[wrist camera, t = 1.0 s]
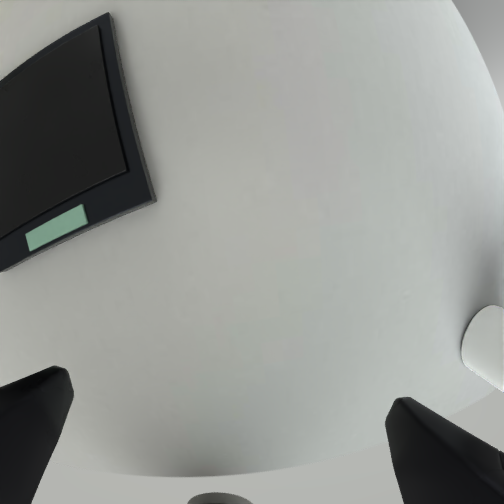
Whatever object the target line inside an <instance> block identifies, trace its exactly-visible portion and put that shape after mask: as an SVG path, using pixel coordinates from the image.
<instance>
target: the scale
mask: <svg viewBox="0 0 504 504" xmlns="http://www.w3.org/2000/svg"><path fill="white" fill-rule="evenodd" d="M155 202H157V199H156V196H155V193H154V190H153V186H152V183H151V179H150V176H149V173H148V169H147V166H146V162H145V159H144V155H143V151H142V148H141V144H140V140H139V136H138V133H137V129H136V125H135V121H134V117H133V113H132V109H131V105H130V100H129V96H128V92H127V87H126V83H125V78H124V74H123V69H122V64H121V59H120V54H119V49H118V44H117V38H116V33H115V27H114V21H113V18H112V16H111V15H110V13H109V12H108V13H105V14H103V15H101V16H99V17H97V18H95V19H93V20H91V21H90V22H88V23H86V24H84V25H82V26H80V27H78V28H77V29H75V30H73V31H71V32H70V33H68V34H66V35H65V36H63V37H61V38H60V39H58V40H56V41H55V42H53V43H52V44H50V45H49V46H47V47H45V48H44V49H42V50H41V51H39V52H38V53H37V54H35V55H34V56H32V57H31V58H29V59H28V60H27V61H25V62H24V63H23V64H21V65H20V66H19V67H17V68H16V69H15V70H13V71H12V72H11V73H10V74H8V75H7V76H6V77H5V78H3V79H2V80H1V81H0V273H1V272H5V271H8V270H9V269H11V268H13V267H15V266H17V265H19V264H21V263H23V262H25V261H27V260H28V259H30V258H32V257H34V256H36V255H38V254H40V253H42V252H44V251H46V250H48V249H50V248H52V247H55V246H57V245H59V244H61V243H63V242H65V241H67V240H69V239H71V238H74V237H76V236H78V235H80V234H82V233H84V232H87V231H89V230H91V229H93V228H96V227H98V226H100V225H102V224H105V223H107V222H109V221H112V220H114V219H116V218H119V217H121V216H123V215H126V214H128V213H131V212H133V211H135V210H138V209H140V208H143V207H145V206H148V205H150V204H153V203H155Z"/></svg>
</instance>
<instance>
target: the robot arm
mask: <svg viewBox="0 0 504 504" xmlns="http://www.w3.org/2000/svg"><path fill="white" fill-rule="evenodd" d="M73 397H74V391H73V387H72V383H71V380H70V376H69V373H68V371H67V370H66V369H65V368H62V367H59V366H51V367H49V368H47V369H44V370H42V371H39V372H37V373H35V374H32V375H30V376H27V377H25V378H22V379H20V380H17V381H15V382H12V383H10V384H7V385H5V386H2V387H0V504H31V503H32V500H33V497H34V495H35V493H36V490H37V488H38V485H39V483H40V480H41V478H42V476H43V473H44V471H45V469H46V467H47V464H48V462H49V460H50V458H51V455H52V453H53V451H54V449H55V447H56V444H57V442H58V440H59V437H60V435H61V432H62V429H63V426H64V423H65V420H66V417H67V414H68V412H69V409H70V406H71V404H72V401H73ZM385 427H386V432H387V437H388V442H389V447H390V452H391V458H392V463H393V467H394V471H395V475H396V478H397V481H398V485H399V488H400V491H401V495H402V498H403V502H404V504H504V453H503V452H502V451H499V450H498V449H496V448H495V447H493V446H491V445H489V444H488V443H486V442H484V441H482V440H480V439H479V438H477V437H475V436H474V435H472V434H470V433H469V432H467V431H465V430H463V429H462V428H460V427H458V426H456V425H455V424H453V423H452V422H450V421H448V420H447V419H445V418H443V417H442V416H440V415H438V414H437V413H435V412H433V411H432V410H430V409H429V408H427V407H425V406H424V405H422V404H420V403H419V402H417V401H416V400H414V399H412V398H411V397H402V398H397V399H396V400H395V401H394V403H393V405H392V407H391V409H390V411H389V413H388V415H387V417H386V421H385Z"/></svg>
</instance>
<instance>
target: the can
mask: <svg viewBox="0 0 504 504" xmlns="http://www.w3.org/2000/svg"><path fill="white" fill-rule="evenodd" d="M461 354H462V360H463V363H464V364H465V366H466V367H467V368H469V369H470V370H472V371H473V372H474V373H476V374H477V375H479V376H480V377H482V378H483V379H484V380H486V381H487V382H489V383H490V384H492V385H493V386H494V387H496V388H497V389H499V390H500V391H502V392H503V393H504V308H502V307H499V306H495V305H490V306H487V307H485V308H483V309H482V310H481V311H479V312H478V313H477V314H476V315H475V316H474V317H473V318H472V320H471V321H470V323H469V325H468V327H467V329H466V331H465V334H464V336H463V340H462V346H461Z"/></svg>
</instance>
